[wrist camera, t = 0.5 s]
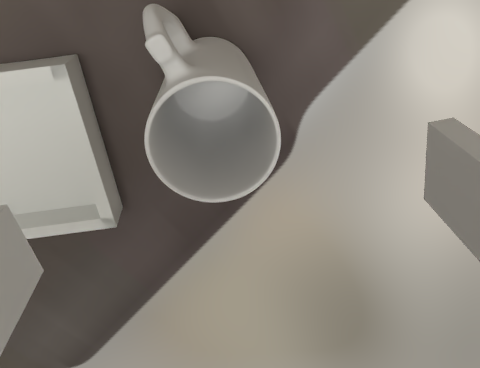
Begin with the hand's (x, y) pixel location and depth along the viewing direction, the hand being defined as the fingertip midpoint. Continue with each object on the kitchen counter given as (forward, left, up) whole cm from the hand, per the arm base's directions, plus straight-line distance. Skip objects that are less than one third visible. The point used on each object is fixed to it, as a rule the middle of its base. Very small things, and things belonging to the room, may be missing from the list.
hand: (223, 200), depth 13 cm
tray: (-17, -5, -20) cm, 26 cm away
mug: (-1, 0, -20) cm, 20 cm away
